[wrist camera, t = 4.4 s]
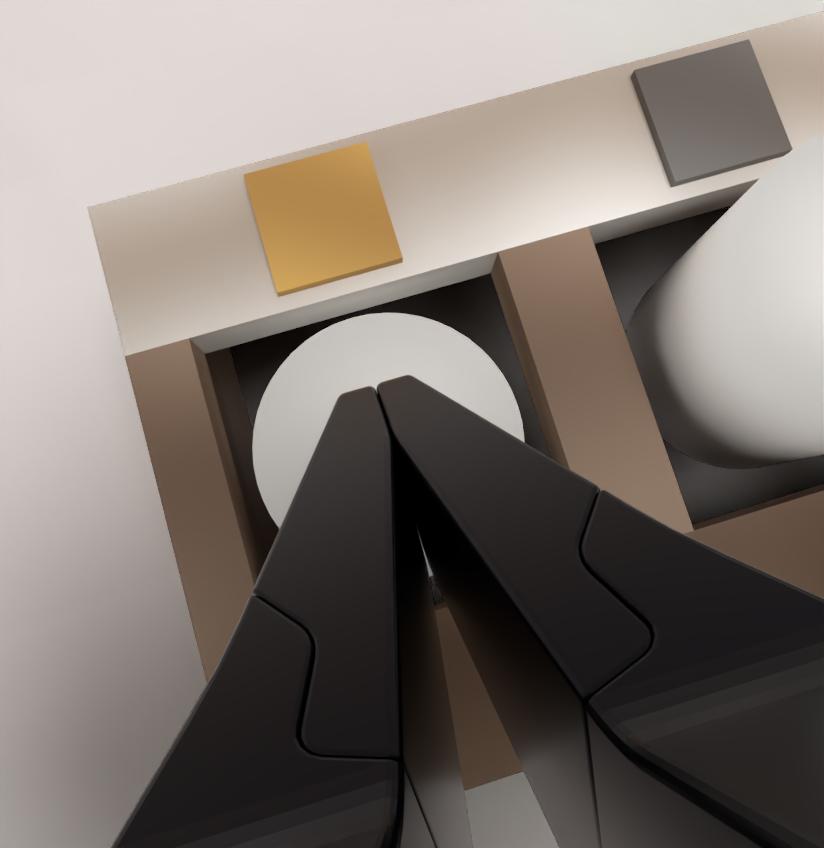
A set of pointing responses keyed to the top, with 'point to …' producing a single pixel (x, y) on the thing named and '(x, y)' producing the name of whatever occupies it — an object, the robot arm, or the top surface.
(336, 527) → the robot arm
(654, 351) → the middle button
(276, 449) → the button
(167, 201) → the brown compartment box
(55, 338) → the top surface
